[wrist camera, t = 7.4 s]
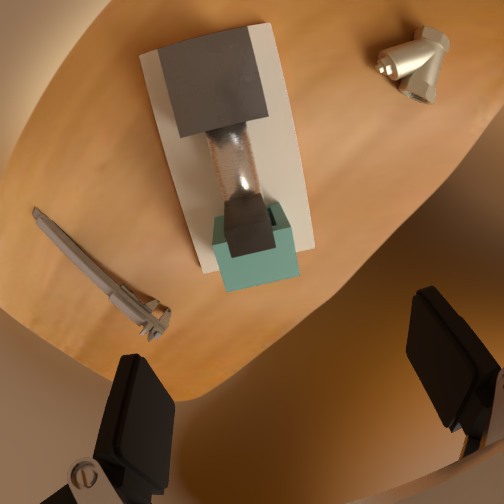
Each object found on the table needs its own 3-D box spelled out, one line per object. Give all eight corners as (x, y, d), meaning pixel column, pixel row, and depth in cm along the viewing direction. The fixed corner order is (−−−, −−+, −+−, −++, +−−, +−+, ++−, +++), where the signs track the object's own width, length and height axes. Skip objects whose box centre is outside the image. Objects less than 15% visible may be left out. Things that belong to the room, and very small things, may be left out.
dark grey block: (242, 42, 23) (247, 26, 17) (260, 113, 26) (269, 116, 21) (171, 59, 23) (157, 49, 18) (190, 130, 26) (180, 138, 21)
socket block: (279, 202, 30) (291, 227, 25) (287, 243, 32) (299, 275, 27) (214, 217, 30) (211, 245, 25) (226, 258, 32) (226, 292, 27)
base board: (268, 24, 23) (270, 22, 22) (312, 243, 33) (315, 247, 33) (141, 56, 23) (138, 55, 22) (204, 269, 34) (203, 273, 33)
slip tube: (239, 95, 24) (245, 92, 16) (272, 241, 30) (289, 295, 22) (199, 105, 24) (186, 106, 16) (238, 249, 31) (242, 306, 22)
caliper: (172, 307, 36) (165, 343, 31) (167, 313, 37) (159, 349, 31) (37, 205, 29) (7, 227, 23) (33, 212, 29) (4, 235, 24)
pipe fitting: (365, 76, 26) (419, 104, 27) (380, 73, 23) (438, 105, 24) (384, 15, 23) (436, 44, 24) (400, 6, 19) (455, 40, 20)
